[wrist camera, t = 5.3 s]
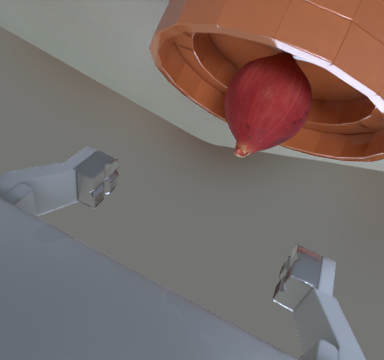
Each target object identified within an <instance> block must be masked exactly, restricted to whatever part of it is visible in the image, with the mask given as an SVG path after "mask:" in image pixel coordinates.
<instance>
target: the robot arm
mask: <svg viewBox="0 0 384 360" xmlns="http://www.w3.org/2000/svg"><path fill="white" fill-rule="evenodd" d="M118 168H119V161H118V160H117V159H115V158H113V157H111V156H109V155H107V154H105V153H103V152H101V151H99V150H97V149H95V148H93V147H90V146H87V147H85V148H84V149H83V150H81V151H80V152H78V153H77V154H75V155H74V156H73V157H71V158H70V159H69V160H67V161H66V162H65V163H63V164H62V163H54V164H49V165H43V166H38V167H32V168H26V169H21V170H16V171H10V172H5V173H4V174H2V175H0V360H366V359H365V357H364V356H363V353H362V351H361V349H360V347H359V345H358V343H357V341H356V339H355V337H354V335H353V333H352V331H351V329H350V327H349V324H348V322H347V320H346V318H345V316H344V314H343V312H342V310H341V308H340V306H339V304H338V302H337V300H336V298H334V297H332V293H333V284H334V275H335V267H336V263H335V261H333V260H330V259H328V258H326V257H324V256H321V255H319V254H317V253H315V252H313V251H311V250H309V249H306V248H304V247H302V246H300V245H296V246H295V247H294V249H293V251H292V254H291V256H288V258H287V259H286V261H285V263H284V265H283V267H282V269H281V272H280V275H279V279H280V282H279V283H278V285H277V286H276V289H275V293H274V296H273V301H275V302H277V303H278V304H280V305H282V306H284V307H286V308H287V309H290V310H291V311H293V312H292V313H293V316H294V320H295V324H296V327H297V331H298V335H299V338H300V342H301V346H302V349H303V353H304V354H303V355H302V356H301V357H300V358H299V359H297V358H295V357H294V356H291V355H290V354H288V353H286V352H284V351H282V350H281V349H279V348H277V347H275V346H273V345H271V344H270V343H268V342H266V341H264V340H262V339H260V338H258V337H257V336H255V335H253V334H251V333H249V332H247V331H246V330H244V329H242V328H240V327H238V326H236V325H235V324H233V323H231V322H229V321H227V320H225V319H223V318H222V317H220V316H218V315H216V314H214V313H212V312H211V311H209V310H207V309H205V308H203V307H201V306H199V305H198V304H196V303H194V302H192V301H190V300H188V299H187V298H185V297H183V296H181V295H179V294H177V293H175V292H174V291H171V290H170V289H168V288H166V287H164V286H163V285H161V284H159V283H157V282H155V281H153V280H152V279H150V278H148V277H146V276H144V275H142V274H140V273H139V272H137V271H135V270H133V269H131V268H129V267H128V266H126V265H124V264H122V263H120V262H118V261H117V260H114V259H113V258H111V257H109V256H107V255H106V254H104V253H102V252H100V251H98V250H96V249H94V248H93V247H91V246H89V245H87V244H85V243H83V242H82V241H80V240H78V239H76V238H74V237H72V236H70V235H69V234H67V233H65V232H63V231H61V230H59V229H58V228H56V227H54V226H52V225H50V224H48V223H46V222H44V221H43V220H41V219H39V218H38V216H39V215H42V214H45V213H48V212H50V211H53V210H56V209H59V208H61V207H64V206H67V205H70V204H72V203H76V202H78V201H80V202H81V203H83V204H86V205H88V206H90V207H92V208H95V207H96V206H97V205H98V204H99V203H100V202H101V201H102V200H103V199H104V195H105V194H109V193H111V192H112V191H113V189H114V188H115V186H116V184H117V182H118V177H119V174H118V173H117V171H116V170H117V169H118Z"/></svg>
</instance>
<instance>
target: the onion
mask: <svg viewBox="0 0 384 360" xmlns="http://www.w3.org/2000/svg"><path fill="white" fill-rule="evenodd" d="M311 103H312V91H311V85H310V83H309V81H308V79H307V77H306V75H305V74H304V72H303V71H302V69H301V68H300V66H299V65H298V64H297V62H296V60H295V59H294V57H293V56H292V55H291V54H290V53H287V52H281V53H278V54H275V55H272V56H267V57H262V58H258V59H256V60H253V61H251V62H248V63H247V64H245V65H244V66H243V67H242V68H241V69H240V70H238V71H237V73H236V74H235V75H234V77H233V78H232V80H231V82H230V83H229V85H228V87H227V91H226V95H225V101H224V110H225V116H226V120H227V123H228V125H229V128H230V130H231V132H232V134H233V136H234V137H235V139H236V141H237V143H236V147H235V150H234V155H236V156H238V157H245V156H246V155H249V154H252V153H255V152H257V151H261V150H265V149H269V148H271V147H274V146H277V145H279V144H281V143H283V142H285V141H287V140H289V139H290V138H292V137H293V136H295V135H296V133H297V132H298V131H299V130H300V129H301V128H302V127H303V125H304V123H305V122H306V120H307V118H308V115H309V111H310V108H311Z"/></svg>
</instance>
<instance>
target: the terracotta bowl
mask: <svg viewBox="0 0 384 360" xmlns="http://www.w3.org/2000/svg"><path fill="white" fill-rule="evenodd" d="M149 49H150V52H151V55H152V58H153V60H154V63H155V66H156V67H157V68H158V69H159V70H160V72H161V73H162V74H163V75H164V77H165V78H166V79H167V80H168V82H170V83H171V84H172V85H173V86H174V87H175V88H176V89H178V90H179V91H180V92H181V93H182V94H183V95H185V96H186V97H187V98H189V99H190V100H191V101H193V102H194V103H196V104H197V105H199V106H200V107H202V108H203V109H205V110H206V111H208V112H209V113H211V114H212V115H214V116H216V117H218V118H220V119H221V120H223V121H225V122H227V120H226V116H225V110H224V101H225V95H226V91H227V87H228V85H229V83H230V82H231V80H232V78H233V77H234V75H235V74H236V73H237V71H238V70H240V69H241V68H242V67H243V66H244V65H245V64H247V63H248V62H251V61H253V60H256V59H258V58H262V57H267V56H272V55H275V54H278V53H281V52H287V53H290V54H291V55H292V56H293V57H294V59H295V60H296V62H297V64H298V65H299V66H300V68H301V69H302V71H303V72H304V74H305V75H306V77H307V79H308V81H309V83H310V85H311V91H312V103H311V108H310V111H309V115H308V118H307V120H306V122H305V123H304V125H303V127H302V128H301V129H300V130H299V131H298V132H297V133H296V135H295V136H293V137H292V138H290V139H289V140H287V141H285V142H283V143H281V144H279V145H280V146H282V147H285V148H288V149H291V150H295V151H299V152H302V153H306V154H310V155H313V156H318V157H324V158H330V159H336V160H342V161H364V162H373V161H378V160H382V159H384V0H170V2H169V4H168V6H167V8H166V10H165V12H164V14H163V17H162V19H161V21H160V23H159V25H158V27H157V29H156V31H155V33H154V36H153V39H152V41H151V44H150V47H149Z"/></svg>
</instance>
